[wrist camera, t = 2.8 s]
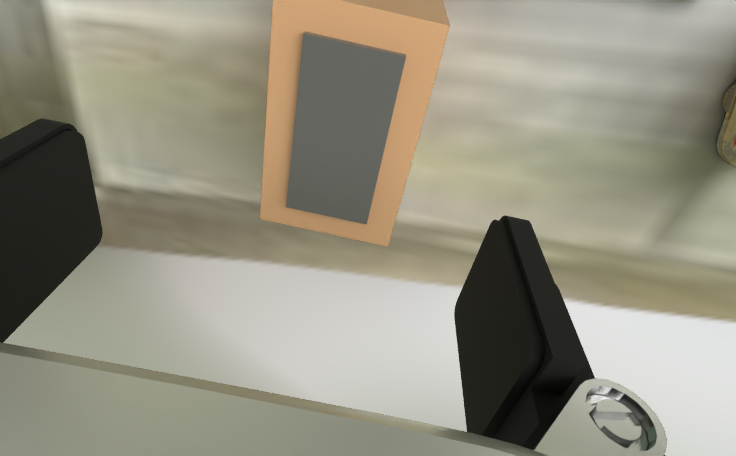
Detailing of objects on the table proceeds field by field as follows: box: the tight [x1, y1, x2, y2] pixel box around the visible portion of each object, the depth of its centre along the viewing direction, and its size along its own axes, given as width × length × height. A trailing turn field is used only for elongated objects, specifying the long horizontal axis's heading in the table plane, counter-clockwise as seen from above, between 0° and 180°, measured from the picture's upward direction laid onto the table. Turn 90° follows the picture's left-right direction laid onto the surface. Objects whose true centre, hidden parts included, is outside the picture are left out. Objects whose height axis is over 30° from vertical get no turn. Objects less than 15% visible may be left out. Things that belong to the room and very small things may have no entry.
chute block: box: [260, 0, 450, 247], centre depth 18 cm, size 5×8×8 cm, turn 169°
